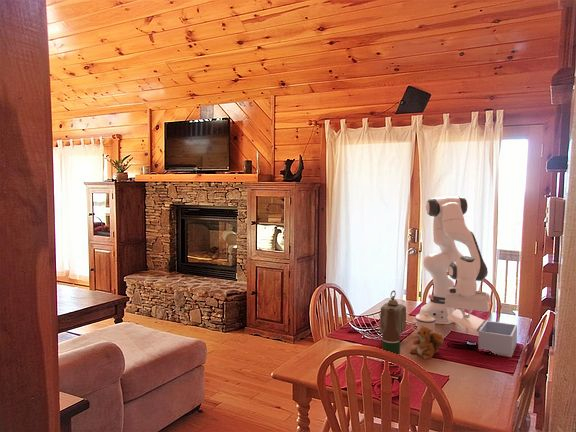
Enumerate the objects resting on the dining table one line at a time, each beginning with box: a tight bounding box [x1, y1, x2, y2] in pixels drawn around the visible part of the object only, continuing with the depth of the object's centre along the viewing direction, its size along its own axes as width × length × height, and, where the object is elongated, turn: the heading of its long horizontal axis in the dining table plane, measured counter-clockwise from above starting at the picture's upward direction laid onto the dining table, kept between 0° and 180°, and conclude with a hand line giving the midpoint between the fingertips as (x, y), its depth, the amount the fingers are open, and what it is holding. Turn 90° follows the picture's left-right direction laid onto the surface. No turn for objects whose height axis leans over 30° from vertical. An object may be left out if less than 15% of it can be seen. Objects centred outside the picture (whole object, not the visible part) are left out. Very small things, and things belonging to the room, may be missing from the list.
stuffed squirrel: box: [409, 326, 445, 360], centre depth 209 cm, size 10×14×13 cm
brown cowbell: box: [379, 289, 407, 336], centre depth 229 cm, size 14×9×25 cm, turn 149°
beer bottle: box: [381, 309, 401, 365], centre depth 197 cm, size 8×8×24 cm
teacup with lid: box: [410, 313, 436, 336], centre depth 235 cm, size 12×9×12 cm
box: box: [477, 320, 518, 358], centre depth 217 cm, size 20×14×10 cm
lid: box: [447, 308, 487, 333], centre depth 224 cm, size 20×15×1 cm
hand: (466, 317), depth 224 cm, fingers closed
